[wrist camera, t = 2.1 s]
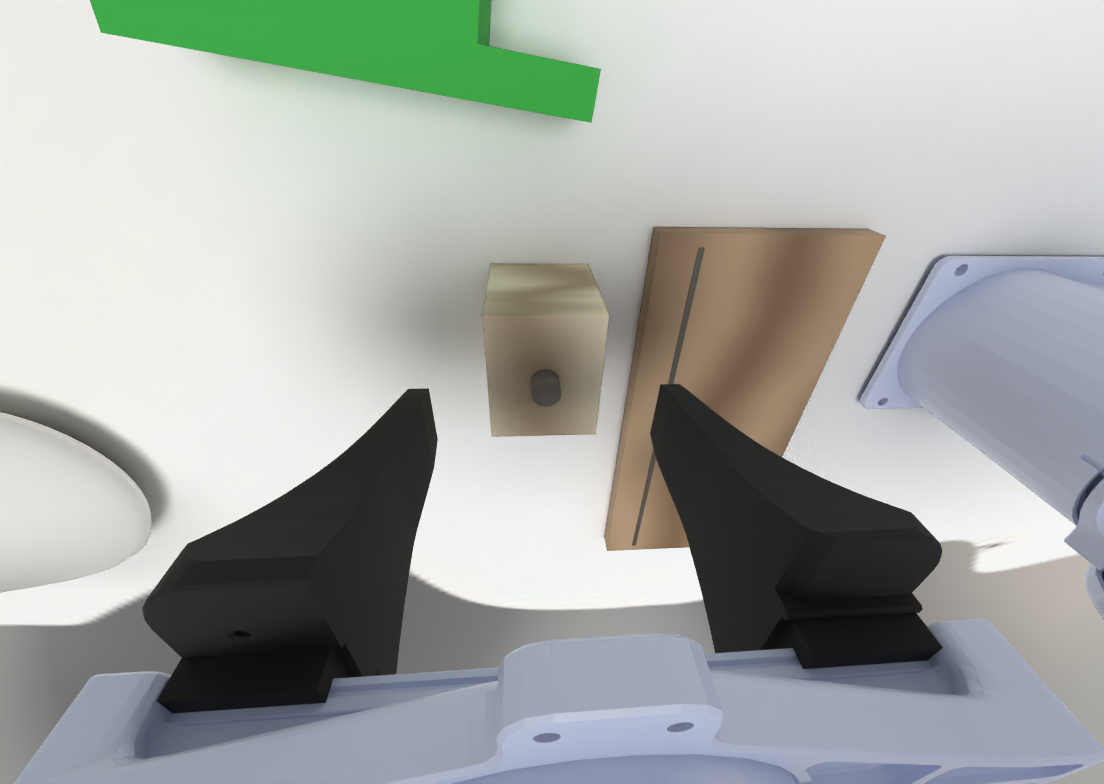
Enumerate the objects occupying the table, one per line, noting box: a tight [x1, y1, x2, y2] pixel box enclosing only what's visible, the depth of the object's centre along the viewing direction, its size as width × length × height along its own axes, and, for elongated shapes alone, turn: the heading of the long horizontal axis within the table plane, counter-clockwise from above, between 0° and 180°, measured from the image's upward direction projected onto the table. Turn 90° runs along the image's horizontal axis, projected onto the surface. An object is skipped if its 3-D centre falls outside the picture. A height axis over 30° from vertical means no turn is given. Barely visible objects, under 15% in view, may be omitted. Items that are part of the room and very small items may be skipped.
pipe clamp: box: [90, 0, 601, 122], centre depth 11 cm, size 11×4×5 cm, turn 81°
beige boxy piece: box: [483, 263, 609, 437], centre depth 16 cm, size 4×5×6 cm
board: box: [605, 227, 886, 551], centre depth 22 cm, size 9×20×1 cm, turn 179°
